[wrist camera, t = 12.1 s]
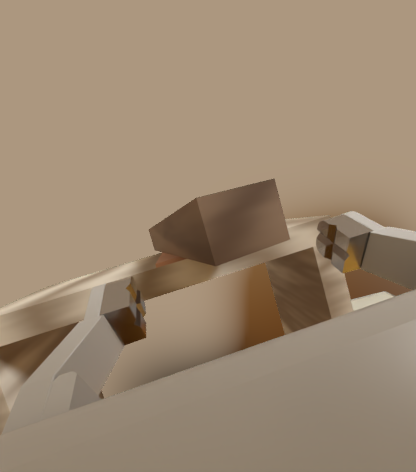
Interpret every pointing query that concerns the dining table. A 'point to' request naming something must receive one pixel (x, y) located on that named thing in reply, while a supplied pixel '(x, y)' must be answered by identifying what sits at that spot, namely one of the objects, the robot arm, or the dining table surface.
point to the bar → (224, 225)
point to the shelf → (162, 282)
